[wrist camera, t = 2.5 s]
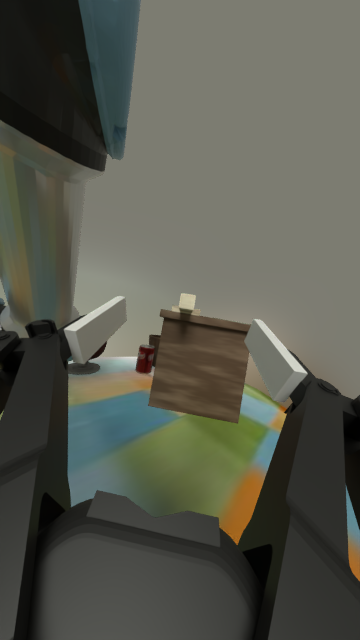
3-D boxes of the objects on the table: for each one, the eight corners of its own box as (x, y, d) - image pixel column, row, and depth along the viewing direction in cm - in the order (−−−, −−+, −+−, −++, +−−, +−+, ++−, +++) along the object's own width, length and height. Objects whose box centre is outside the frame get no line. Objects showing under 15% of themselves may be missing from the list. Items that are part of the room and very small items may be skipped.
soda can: (150, 369, 70) (154, 345, 71) (151, 375, 63) (156, 348, 64) (135, 368, 69) (140, 343, 69) (134, 373, 61) (139, 346, 62)
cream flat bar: (172, 314, 53) (173, 306, 54) (198, 318, 53) (199, 311, 53) (161, 304, 28) (164, 290, 29) (210, 313, 28) (213, 298, 28)
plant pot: (152, 359, 89) (157, 334, 89) (174, 365, 84) (179, 339, 84) (138, 364, 75) (144, 334, 75) (163, 372, 70) (169, 340, 70)
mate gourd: (89, 361, 67) (97, 319, 67) (108, 369, 61) (117, 324, 61) (48, 368, 53) (58, 315, 53) (68, 380, 47) (80, 321, 47)
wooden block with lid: (154, 385, 54) (167, 312, 55) (227, 399, 53) (239, 325, 54) (142, 409, 39) (161, 308, 40) (244, 429, 38) (260, 325, 39)
